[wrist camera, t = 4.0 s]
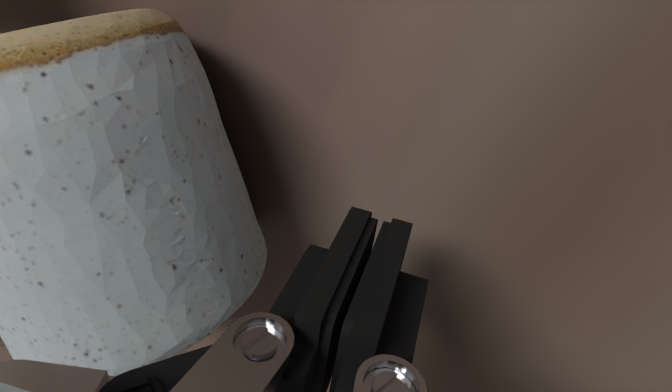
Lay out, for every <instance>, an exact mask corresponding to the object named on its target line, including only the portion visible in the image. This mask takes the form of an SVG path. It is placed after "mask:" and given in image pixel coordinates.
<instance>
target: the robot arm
mask: <svg viewBox="0 0 672 392" xmlns="http://www.w3.org/2000/svg"><path fill="white" fill-rule="evenodd" d="M371 216H372V212H369V211H366V210H362V209H359V208H355V207H351V209H350V211H349V213H348V215H347V216H346V218H345V220H344V222H343V224H342V226H341V228H340V229H339V231H338V233H337V235H336V237H335V239H334V241H333V242H332V244H331V246H330V248H329V250H328V249H325V248H321V247H318V246H315V245H310V246H309V248H308V249H307V250H306V252H305V254H304V255H303V257H302V259H301V260H300V262H299V264H298V265H297V267H296V269H295V270H294V272H293V274H292V275H291V277H290V279H289V280H288V282H287V283H286V285H285V287H284V288H283V290H282V292H281V293H280V295H279V297H278V298H277V300H276V302H275V303H274V305H273V307H272V308H271V310H270V312H269V313H266V312H256V313H250V314H247V315H245V316H243V317H241V318H239V319H238V320H237V321H235V322H234V323H233V324H232V325H231V326H230V327H229V328H228V329H227V330H226V331H225V332H224V333H223V334H222V336H221V337H220V338H219V339H218V340H217V341H216V342H215V343H214V344H213V345H210V346H206V347H203V348H200V349H197V350H193V351H190V352H187V353H184V354H181V355H177V356H174V357H171V358H168V359H164V360H161V361H158V362H155V363H152V364H148V365H145V366H142V367H139V368H135V369H132V370H129V371H126V372H124V373H122V374H120V375H117V376H110V375H108V372H107V370H100V369H92V368H85V367H77V366H70V365H62V364H55V363H47V362H40V361H32V360H25V359H20V360H9V361H6V362H3V363H0V392H326V391H327V388H328V385H329V383H330V380H331V377H332V381H331V386H330V391H329V392H427V388H426V383H425V381H424V379H423V377H422V375H421V373H420V372H419V371H418V370H417V369H416V368H415V367H414V366H413V365H412V360H413V355H414V350H415V345H416V340H417V335H418V330H419V325H420V320H421V315H422V310H423V305H424V300H425V295H426V290H427V285H428V280H427V279H424V278H420V277H417V276H414V275H410V274H407V273H404V272H401V271H400V270H401V266H402V262H403V259H404V255H405V251H406V248H407V244H408V240H409V236H410V233H411V229H412V225H413V224H412V223H409V222H405V221H402V220H398V219H394V218H393V219H392V222H391V223H389V222H385V221H384V222H383V224H382V227H381V229H380V232H379V234H378V237H377V239H376V242H375V244H374V247H373V249H372V246H373V241H374V237H375V232H376V227H377V222H378V219H375V218H371ZM371 251H372V252H371Z"/></svg>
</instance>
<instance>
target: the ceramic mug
mask: <svg viewBox="0 0 672 392" xmlns="http://www.w3.org/2000/svg"><path fill="white" fill-rule="evenodd" d="M266 259H267V249H266V243H265V239H264V237H263V234H262V231H261V229H260V227H259V224H258V222H257V220H256V217H255V214H254V210H253V207H252V204H251V201H250V198H249V195H248V192H247V189H246V186H245V183H244V180H243V178H242V175H241V172H240V169H239V167H238V164H237V161H236V158H235V156H234V153H233V151H232V148H231V145H230V143H229V140H228V138H227V135H226V132H225V129H224V127H223V124H222V121H221V117H220V114H219V111H218V107H217V104H216V101H215V98H214V94H213V91H212V89H211V86H210V83H209V81H208V78H207V76H206V73H205V70H204V68H203V66H202V64H201V62H200V60H199V58H198V56H197V54H196V52H195V50H194V48H193V46H192V44H191V42H190V40H189V38H188V37H187V35H186V34H185V33H184V31H183V30H182V28H181V27H180V26H179V24H178V23H177V22H176V21H175V20H174V19H173V18H171V17H170V16H168V15H166V14H164V13H162V12H160V11H158V10H156V9H132V10H124V11H117V12H110V13H104V14H98V15H93V16H87V17H81V18H76V19H71V20H66V21H60V22H55V23H50V24H45V25H40V26H35V27H30V28H25V29H21V30H16V31H11V32H7V33H2V34H0V336H1V338H2V340H3V342H4V343H5V345H6V347H7V349H8V350H9V352H10V354H11V356H12V357H13V359H14V360H20V359H25V360H32V361H40V362H47V363H55V364H62V365H70V366H77V367H85V368H92V369H100V370H107V372H108V375H110V376H117V375H120V374H122V373H124V372H126V371H129V370H132V369H135V368H139V367H142V366H145V365H148V364H152V363H155V362H158V361H161V360H164V359H168V358H171V357H173V356H175V355H176V354H178V353H180V352H182V351H184V350H185V349H187V348H189V347H191V346H192V345H194V344H196V343H198V342H199V341H201V340H203V339H204V338H206V337H207V336H208V335H209V334H210V333H212V332H213V331H214V330H215V329H217V328H218V327H219V326H221V325H222V324H223V323H224V322H225V321H226V320H227V319H228V318H229V317H230V316H231V315H232V314H233V313H234V312H235V311H237V310H238V309H239V308H240V307H241V306H242V305H243V304H244V302H245V301H246V300H247V299H248V298H249V297H250V296H251V294H252V293H253V292H254V290H255V288H256V287H257V285H258V283H259V281H260V279H261V277H262V275H263V272H264V269H265V266H266Z"/></svg>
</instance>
